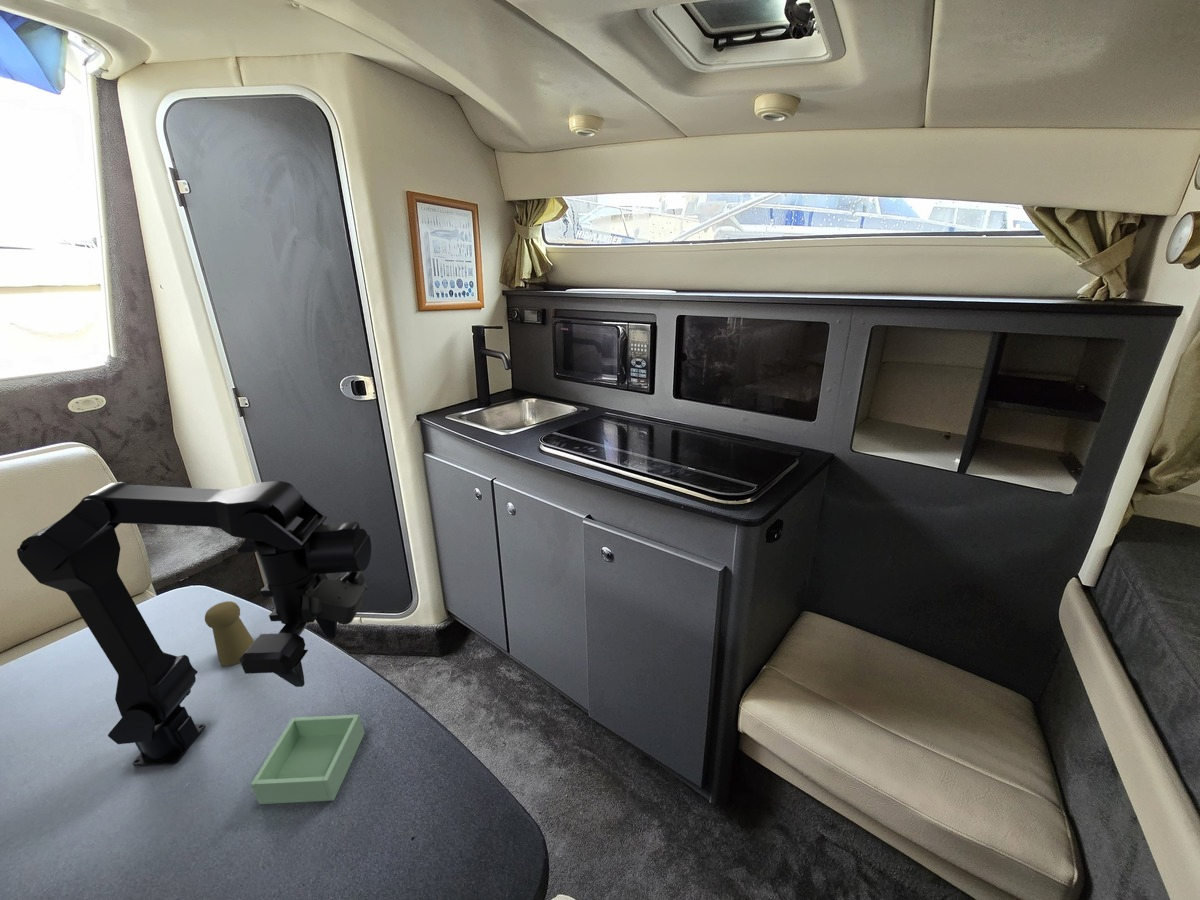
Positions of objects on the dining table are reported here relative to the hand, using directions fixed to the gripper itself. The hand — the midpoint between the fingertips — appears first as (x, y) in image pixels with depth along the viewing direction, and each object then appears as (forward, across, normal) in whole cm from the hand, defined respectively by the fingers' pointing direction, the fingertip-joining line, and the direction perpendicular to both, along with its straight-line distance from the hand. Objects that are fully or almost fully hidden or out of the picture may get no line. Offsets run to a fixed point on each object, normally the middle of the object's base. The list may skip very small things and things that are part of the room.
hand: (317, 660), depth 73 cm
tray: (+14, -6, 0) cm, 15 cm away
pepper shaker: (+15, +17, +27) cm, 35 cm away
